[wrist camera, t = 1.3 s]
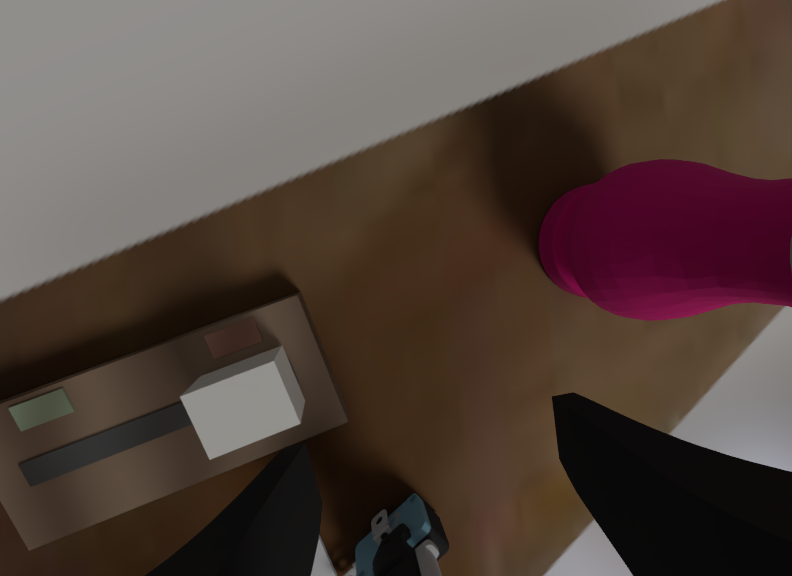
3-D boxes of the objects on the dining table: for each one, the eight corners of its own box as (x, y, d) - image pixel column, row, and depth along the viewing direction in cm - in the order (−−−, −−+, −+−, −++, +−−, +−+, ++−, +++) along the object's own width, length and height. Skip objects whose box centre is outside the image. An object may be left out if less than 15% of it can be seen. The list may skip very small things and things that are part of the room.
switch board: (51, 528, 20) (27, 552, 19) (-17, 407, 19) (-49, 421, 18) (347, 409, 22) (348, 423, 20) (300, 290, 21) (296, 295, 19)
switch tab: (226, 432, 19) (209, 459, 17) (200, 376, 19) (179, 396, 16) (305, 400, 20) (300, 423, 17) (282, 345, 19) (273, 360, 17)
